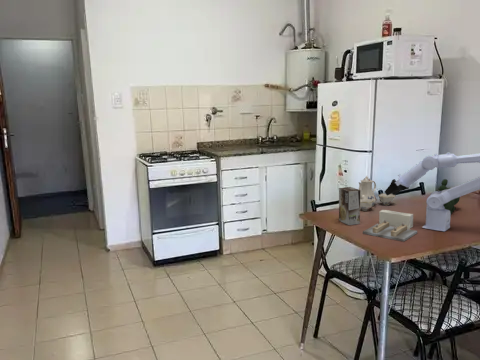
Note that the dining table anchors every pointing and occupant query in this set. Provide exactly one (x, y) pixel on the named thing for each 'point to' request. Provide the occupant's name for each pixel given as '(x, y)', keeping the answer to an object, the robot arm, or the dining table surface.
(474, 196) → the dining table surface
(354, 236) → the dining table surface
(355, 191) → the coffee box
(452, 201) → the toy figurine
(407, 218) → the clay bar
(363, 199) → the chinaware
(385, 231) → the grey peg board
